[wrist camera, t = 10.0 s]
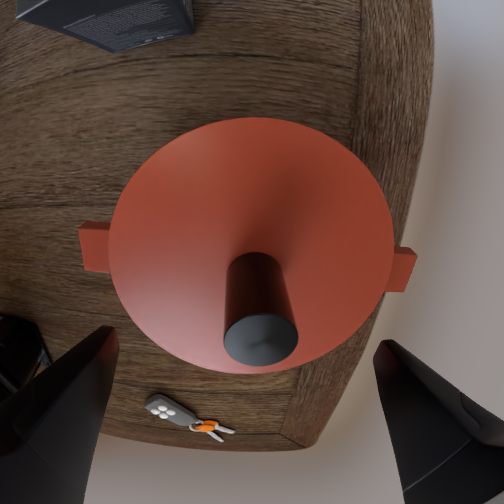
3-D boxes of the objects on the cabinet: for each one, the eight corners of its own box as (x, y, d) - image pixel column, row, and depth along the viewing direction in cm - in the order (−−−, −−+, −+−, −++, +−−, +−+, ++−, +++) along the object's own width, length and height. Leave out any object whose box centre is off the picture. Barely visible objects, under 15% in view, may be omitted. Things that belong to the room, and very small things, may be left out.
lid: (343, 360, 17) (367, 426, 13) (132, 349, 16) (110, 419, 11) (411, 147, 11) (488, 175, 7) (113, 111, 10) (41, 119, 6)
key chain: (142, 400, 29) (139, 410, 28) (160, 390, 28) (158, 400, 27) (221, 440, 34) (221, 449, 33) (242, 432, 33) (242, 441, 32)
